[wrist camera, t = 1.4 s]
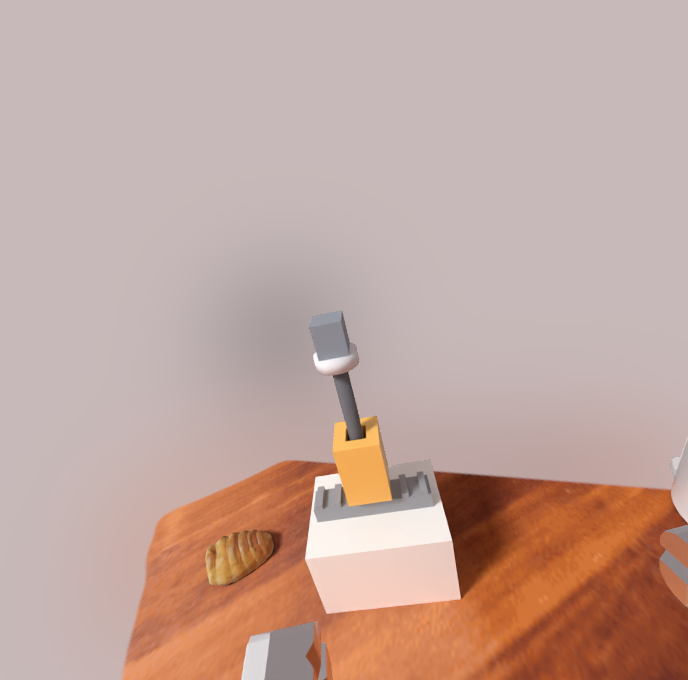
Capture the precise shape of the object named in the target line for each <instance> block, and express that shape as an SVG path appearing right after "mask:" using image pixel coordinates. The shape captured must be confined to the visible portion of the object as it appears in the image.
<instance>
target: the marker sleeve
mask: <svg viewBox="0 0 688 680" xmlns="http://www.w3.org/2000/svg"><path fill="white" fill-rule="evenodd" d="M360 422H361V426H362V430H363V434H364V438H365V439H359V440H352V441H350V438H349V434H348V430H347V427H346V423H345V421H343V422H337V423H335V428H334V440H333V455H334V458H335V462H336V465H337V469H338V472H339V475H340V479H341V482H342V485H343V489H344V492H345V496H346V499H347V502H348V506H356V505H363V504H370V503H377V502H384V501H391V500H392V494H391V486H390V477H389V469H388V464H387V460H386V455H385V451H384V446H383V442H382V438H381V433H380V428H379V424H378V420H377V416H373V417H367V418H362V419H360Z"/></svg>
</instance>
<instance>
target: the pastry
mask: <svg viewBox="0 0 688 680" xmlns="http://www.w3.org/2000/svg"><path fill="white" fill-rule="evenodd" d="M273 548H274V546H273V541H272V537H271V534H270V533H267V532H266V531H257V530H253V531H250V532H249V531H246V530H244V531H243V532H241V533H239V532H237V533H232V534H231V535H230V536H229V537H227V536H223V537H221V538H220V539H219V540H218V542H217V543H216V544H214V545H210V546H209V547H208V548H207V552H206V563H207V573H208V578H209V583H210V584H211V585H221V586H226V585H228V584H230V583H233V582H237V581H238V580H240V579H241V578H243V577H244V576H246V575H248V574H249V573H251V572H252V571H253V570H255V569H256V568H258V567H259V566H260V565H262V564H263V563H264V562H265V561H266V560H267V558H268V557H269V556H270V555H271V554H272V551H273Z"/></svg>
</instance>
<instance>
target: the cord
mask: <svg viewBox="0 0 688 680" xmlns="http://www.w3.org/2000/svg"><path fill="white" fill-rule="evenodd" d="M310 332H311V335H312V339H313V343H314V346H315V349H316V353H315V354H314V356H313V358H314V362H315V365H316V369H317V371H318V373H320V374H322V375H328V376H329V375H333V378H334V382H335V386H336V389H337V393H338V397H339V400H340V404H341V408H342V412H343V415H344V419H345V423H346V427H347V430H348V434H349V438H350V441H352V440H359V439H365V438H364V434H363V430H362V426H361V422H360V418H359V414H358V410H357V406H356V402H355V398H354V394H353V390H352V386H351V382H350V378H349V374H348V371H350V370H352V369H353V368H354V367H356V365H358V363H359V357H358V352H357V348H356V345H355V344H353V343H350V342H349V338H348V334H347V330H346V325H345V321H344V317H343V313H342V311H337V312H332V313H327V314H322V315H317V316H313V317H312V321H311V324H310Z"/></svg>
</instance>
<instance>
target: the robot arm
mask: <svg viewBox="0 0 688 680" xmlns="http://www.w3.org/2000/svg"><path fill="white" fill-rule="evenodd" d="M670 467H671V470H672V473H673V475H674V482H673V486H672V489H671V496H672V500H673V503H674V505H675V507H676V509H677V510H678V512H679V513H680V515H681V516H682V517H683V518H684V519H685V521H686V522H687V523H688V438H687V441H686V443H685V446H684V449H683V452H682V455H681V456H678V457H674V458H673V459H672V461H671V463H670ZM660 544H661V545H662V546H663V547H664V548H665V549H666V551H665V552H664V553H663V555H662V556H661V558H660V572H661V574H662V576H663V578H664V580H665V582H666V584H667V586H668V587H669V588H670V590H671V591H672V592H673V594H674V595H675V596H676V597H677V598H678V599H679V600H680V601H681V602H682V603H683V604H684V605H685V606H686V607H688V525H685V526H681V527H678V528H674V529H670V530H667V531H664V532H663V533H662V534H661V538H660ZM241 680H333V678H332V670H331V662H330V658H329V654H328V650H327V647H326V644H324V643H323V642H321V630H320V628H319V625H318V623H317V621H313V622H309V623H305V624H300V625H296V626H292V627H287V628H283V629H279V630H275V631H270V632H266V633H262V634H258V635H254V636H251V637H250V640H249V642H248V645H247V649H246V655H245V661H244V667H243V673H242V679H241Z"/></svg>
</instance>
